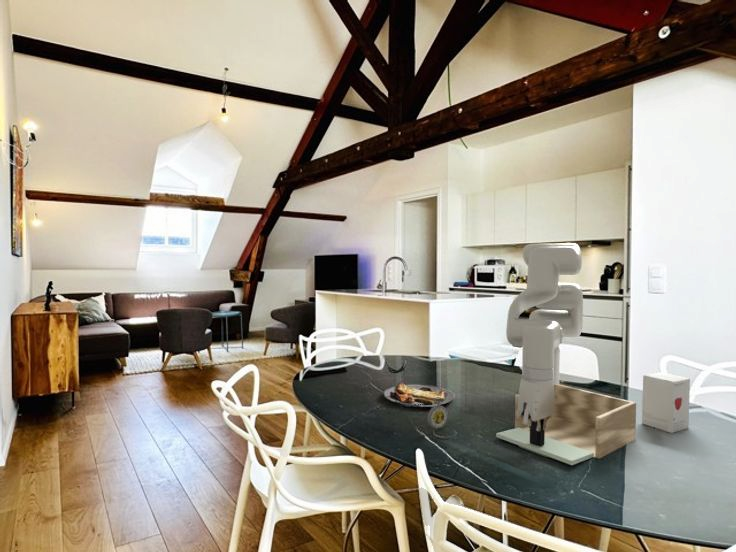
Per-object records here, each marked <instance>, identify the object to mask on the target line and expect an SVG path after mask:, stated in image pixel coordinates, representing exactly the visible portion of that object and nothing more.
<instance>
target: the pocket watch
mask: <svg viewBox="0 0 736 552" xmlns="http://www.w3.org/2000/svg"><path fill="white" fill-rule="evenodd" d="M436 398H440V397H436ZM436 398H435V399H436ZM435 399H434V402H435V403H437V406H434V407H431V408H430V410H429V412H428V414H427V422H428V425H429V426H430V427H431V428H433V429H434V430H433V431H432V434H433V436H434V437H436V438H438V439H442V440H449V438H450V437H454V436H456V435H458V433H457V431H456V430H455V429H453V431H454V432H455V434H454V435H451V436H448V437H447V436H443V435H441V434H438V433H436V432H435V431H437V430H440V429H443V428H444V427H445V425H447V422H448V420H449V411H448V410H447V408H446V407H444V406H443V405H441V404H440V403H441V402H442V399H441V398H440V399H441V400H438V401H437V402H436V401H435ZM446 429H449V428H446Z"/></svg>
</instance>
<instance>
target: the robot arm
mask: <svg viewBox="0 0 736 552" xmlns="http://www.w3.org/2000/svg"><path fill="white" fill-rule="evenodd" d="M580 247H581V246H579V245H578V244H577V243H529V244H527V245H525V246H524V247H523V249H522V259H523V261H524V263H525V264H526V266H527V277H526V278H527V279H526V288H525V289H524V290H523V291H521V292H520V293H519V294H518V295H517V296H516V297H515V298H514V299H513V301H512V302H511V304H510V305H509V308H508V311H507V319H506V322H507V323H506V331H505V334H506V339H507V342H508V343H509V344H510V345H512V346H514V347H522V355H521V356H522V358H521V359H522V362H521V364H522V366H521V367H522V368H521V369H522V371H521V373H522V374H521V375H522V378H521V379H520V384H519V390H518V394H519V396H518V416H519V417H524V419H523V425H526V426H528V427H529V429H530V443H531V444H534V445H536V446H539V447H541V446H543V445H544V439H545V430H543V429H545V428H546V422H547V420H548V419H549V418H550V417H551V415H552V414H553V413H554V409H555V392H554V383H555V384H559V385H560V372H561V371H560V365H561V364H560V360H561V359H560V356H561V350H560V345H561V344H562V343H563V340H564V338H578V337H580V335H581V333H582V330H583V324H584V323H583V321H584V320H583V318H584V317H583V315H584V314H583V313H584V312H583V311H584V296H583V295H584V294H583V290H582V288H581V286H580V285H579V284H578V283H572V282H560V275H562V276H563V275H564V276H571V275H572V276H575V275H577V274H579V273H580V272H581V270H582V265H583V257H582V251H581V248H580ZM534 307H536V308H537V309H535V310H533V311H531V313H530V314H529V316H528V317H529V318H519V317H520V315H521V314H522V313H524V312H525V311H526V310H529V309H531V308H534Z"/></svg>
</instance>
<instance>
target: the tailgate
mask: <svg viewBox="0 0 736 552" xmlns="http://www.w3.org/2000/svg"><path fill="white" fill-rule="evenodd" d="M495 438H497V439H500V440H504V441H506V442H509V443H511V444H514V445H517V446H518V447H519V448H522V449H524V450H526V451H529V452H531V453H534V454H537V455H539V456H542V457H545V458H551V459H553V460H557V461H559V462H562V463H565V464H567V465H570V466H574V465H577V464H579V463H581V462H585V461H586V460H589V459H592V458H595V457H594V453H593V452H590V451H587V450H584V449H581V448H578V447H575V446H572V445H569V444H566V443H563V442H560V441H557V440H554V439H551V438H549V437H546V436H545V439H544V445H543V446H541V447H539V446H536V445H534V444H531V443H530V431H528V430H525V429H522V428H519V427H518V428H515V427H514V428H512V429H511V428H510V429H508V430H504V431H500V432H496V435H495Z"/></svg>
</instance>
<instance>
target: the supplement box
mask: <svg viewBox="0 0 736 552" xmlns="http://www.w3.org/2000/svg"><path fill="white" fill-rule="evenodd" d="M642 376H643V377H642V398H641V399H642V402H641V403H642V404H641V411H642V412H641V424H643V425H645V426H649V427H651V428H654V427H655V429H657V430H661V431H664V432H668V433H670V434H673V433H676V432H681V431H683V430H687V429H689V425H690V424H689V419H690V387H691V386H690V385H691V378H690V377H689V378H688V377H685V376H681V375H680V376H679V375H675V374H671V373H666V372H661V371H659V372H654V373H653V372H652V373H649V374H643V375H642Z"/></svg>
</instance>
